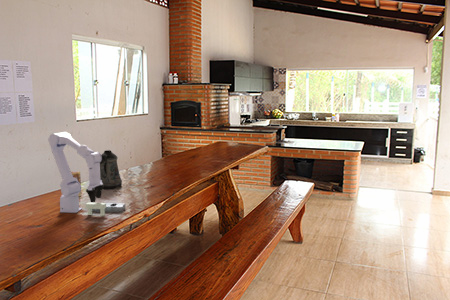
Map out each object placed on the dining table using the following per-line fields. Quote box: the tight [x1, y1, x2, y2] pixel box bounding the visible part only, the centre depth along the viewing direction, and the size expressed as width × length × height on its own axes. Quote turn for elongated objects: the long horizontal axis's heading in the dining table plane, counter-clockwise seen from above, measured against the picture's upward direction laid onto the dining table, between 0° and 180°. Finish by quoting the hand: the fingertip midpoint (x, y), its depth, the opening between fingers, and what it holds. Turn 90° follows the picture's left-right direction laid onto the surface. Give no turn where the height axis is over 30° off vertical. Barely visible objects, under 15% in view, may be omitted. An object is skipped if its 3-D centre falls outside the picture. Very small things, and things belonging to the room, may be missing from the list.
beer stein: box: [100, 149, 123, 191], centre depth 271 cm, size 16×19×25 cm
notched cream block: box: [85, 201, 107, 217], centre depth 216 cm, size 10×3×6 cm, turn 86°
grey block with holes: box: [92, 202, 126, 213], centre depth 225 cm, size 18×7×3 cm, turn 86°
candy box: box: [68, 171, 82, 198], centre depth 250 cm, size 9×4×15 cm, turn 96°
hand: (95, 199), depth 215 cm, fingers open, 7 cm apart
